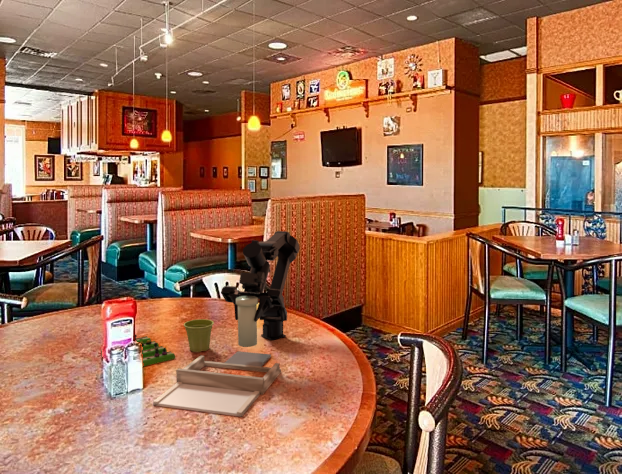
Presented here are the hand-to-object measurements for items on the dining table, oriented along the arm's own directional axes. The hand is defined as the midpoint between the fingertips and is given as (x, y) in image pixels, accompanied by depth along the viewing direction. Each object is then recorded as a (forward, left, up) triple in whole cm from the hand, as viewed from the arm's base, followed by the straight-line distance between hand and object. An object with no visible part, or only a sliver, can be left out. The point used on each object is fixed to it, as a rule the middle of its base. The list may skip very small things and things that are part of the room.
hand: (245, 320), depth 148 cm
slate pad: (-1, -1, -13) cm, 13 cm away
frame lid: (+21, +15, -13) cm, 29 cm away
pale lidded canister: (-1, -1, -8) cm, 8 cm away
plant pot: (+5, -20, -13) cm, 24 cm away
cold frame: (+9, +7, -13) cm, 18 cm away
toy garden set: (+24, -29, -14) cm, 40 cm away
